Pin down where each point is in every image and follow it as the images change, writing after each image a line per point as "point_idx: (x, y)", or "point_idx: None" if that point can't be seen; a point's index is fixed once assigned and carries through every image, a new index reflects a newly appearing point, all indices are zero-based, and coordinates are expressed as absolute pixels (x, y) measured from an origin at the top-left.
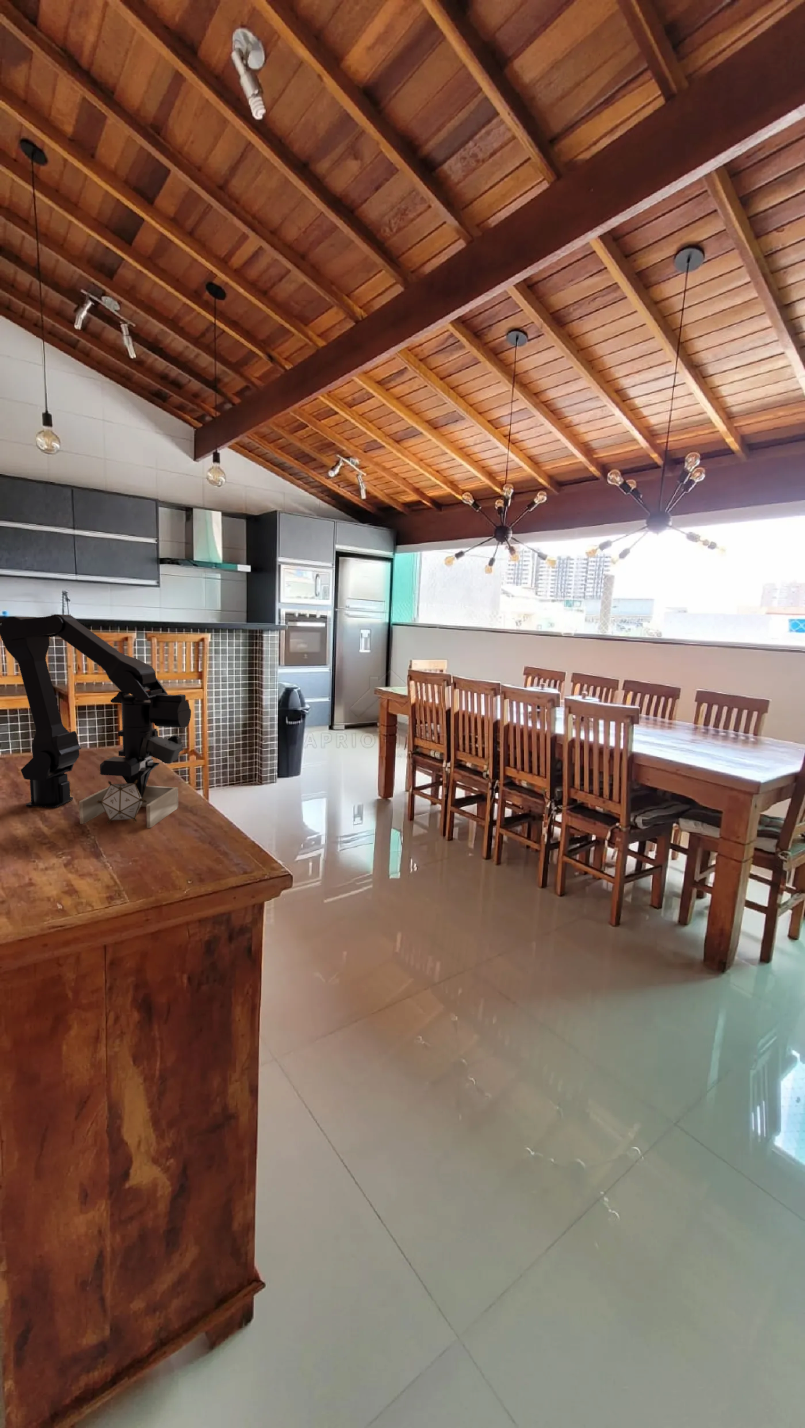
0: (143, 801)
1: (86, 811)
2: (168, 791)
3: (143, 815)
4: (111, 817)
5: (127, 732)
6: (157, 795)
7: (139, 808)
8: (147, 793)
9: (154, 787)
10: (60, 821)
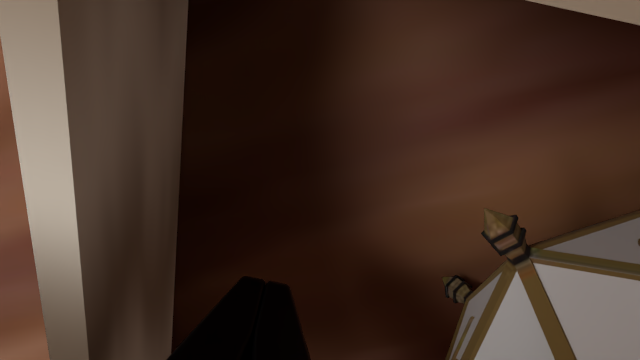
0: (523, 246)
1: None
2: None
3: (448, 146)
4: None
5: None
6: (132, 139)
7: (604, 228)
8: (128, 260)
9: (80, 248)
10: None
